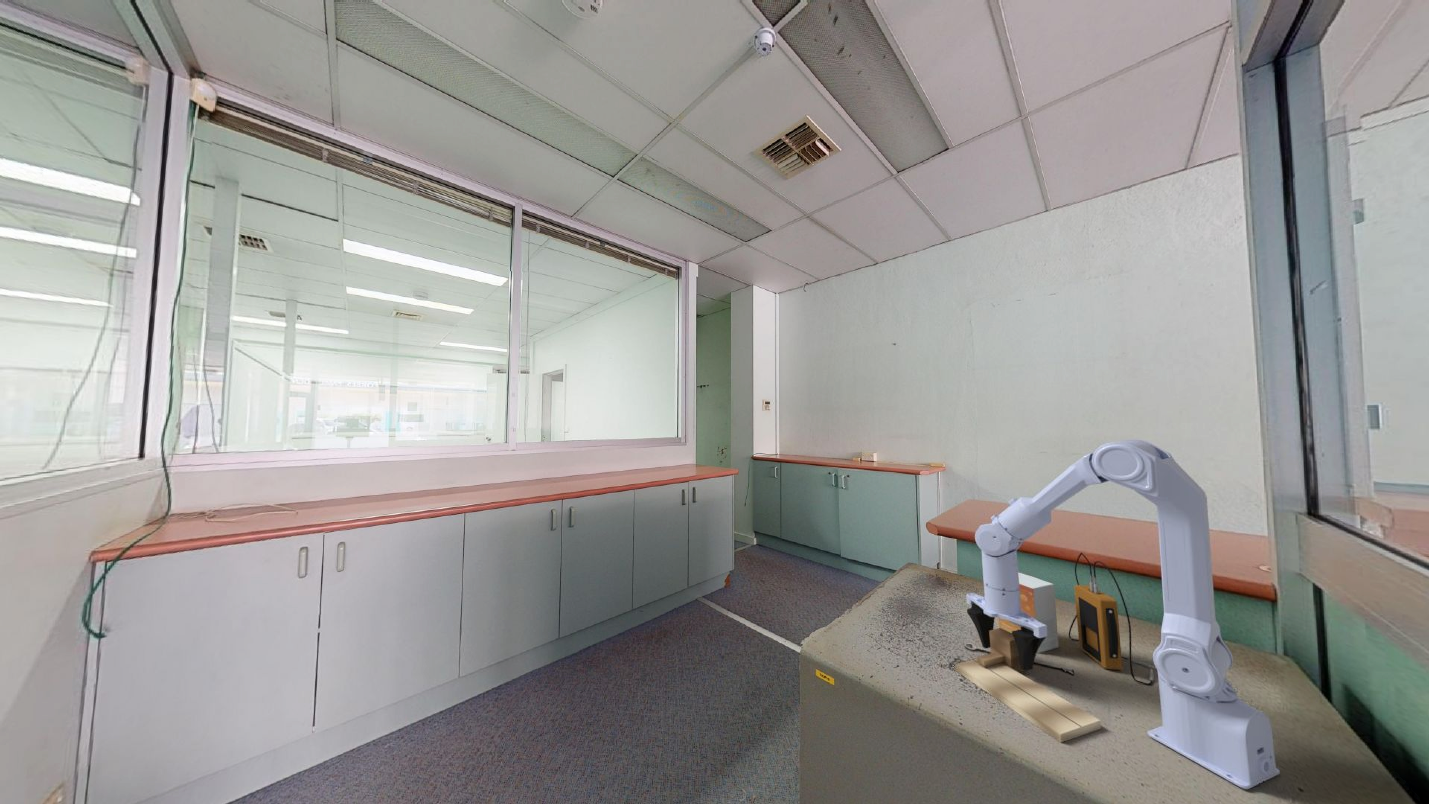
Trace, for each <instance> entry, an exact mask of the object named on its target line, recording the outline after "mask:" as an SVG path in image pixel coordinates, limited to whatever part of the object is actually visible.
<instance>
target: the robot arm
mask: <svg viewBox="0 0 1429 804" xmlns="http://www.w3.org/2000/svg"><path fill="white" fill-rule="evenodd" d="M1107 482H1111V483H1114V484H1117V485H1119V486H1121V487H1124V488H1128V489H1130V490H1133V491H1135V492H1136V493H1137V494H1139V495H1141V497H1144V498H1145V499H1147V500H1148V501H1150V502H1151V503H1152V504H1154V505H1155V506H1156V512H1157V513H1156V514H1157V527H1158V528H1157V529H1158V541H1159V554H1160V557H1159V558H1160V569H1161V570H1160V571H1161V584H1162V585H1161V586H1162V587H1161V588H1162V603H1163V618H1162V623H1161V629H1160V634H1161V635H1160V637H1161V638H1160V640H1161V641H1160V644H1159V645H1158V646H1157V647H1156V648H1155V650H1154V651H1153V654H1152V660H1153V663H1154V664H1153V665H1154V667H1156V668H1157V669H1156V668H1155V669H1156V670H1157V678H1158V687H1159V688H1158V690H1159V699H1160V700H1159V701H1160V710H1161V721H1162V725H1161V726H1158V727H1156V728H1153V729H1151V730H1148V731H1147V736H1149V737H1150V738H1152V739H1154V740H1155V741H1157V742H1160V743H1161V744H1163V745H1164V746H1166V747H1168V748H1170V749H1172V750H1173V751H1175V752H1177V753H1178V754H1180V755H1182V756H1184V757H1185V758H1187V759H1189V760H1191V761H1193V762H1195V763H1197V764H1198V765H1200V766H1202V767H1204V768H1206V769H1207V770H1209V771H1211V772H1212V773H1215V774H1216V775H1218V776H1219V777H1221V778H1223V779H1225V780H1227V781H1228V782H1231V784H1234V785H1236V787H1237V786H1238V787H1239V788H1241V789H1243V790H1249V789H1251V788H1253V787H1255V786H1257V785H1259V783H1260V784H1261V783H1263V781H1264V782H1265V781H1268V780H1270V779H1272V778H1274V777H1275V776H1278V775H1279V774H1280V773H1281V772H1280V769H1279V768H1277V766H1276V756H1275V746H1274V737H1273V730H1272V726H1271V721H1270V720H1269V718H1268V716H1267V715H1266V714H1265V713H1264V712H1262V711H1261V710H1259V709H1256V708H1255V707H1254V706H1251V705H1249V704H1248V703H1246V702H1245V701H1243V700H1242V699H1241V698H1240V697H1238V696H1237V695H1238V694H1237V691H1236V689H1234V687H1233V686H1232V684H1231V682H1230V681H1229V680H1228V678H1226V676H1227V674H1228V672H1229V670H1231V668H1232V666H1233V665H1234V664H1233V663H1234V658H1233V655H1232V651H1231V650H1230V649H1229V647H1228V646H1227V645H1226V643H1225V642H1224V641H1223V638H1222V634H1221V626H1220V625H1219V623H1218V621H1217V620H1216V608H1215V595H1214V593H1215V592H1214V581H1213V568H1212V567H1213V566H1212V565H1213V564H1212V552H1211V549H1212V548H1211V538H1210V526H1209V525H1210V523H1209V511H1208V510H1209V509H1208V498H1207V495H1206V492H1205V491H1204V489H1203V488H1202V487H1201V486H1200V485H1199V484H1198V482H1196V481H1195V480H1194V479H1193V478H1192V476H1190V475H1189V474H1188V473H1187V471H1185V470H1184V469H1183V468H1182V467H1181V466H1180V465H1179V464H1178V463H1177V462H1176V460H1175V459H1174V458H1173V456H1172V454H1171V453H1170V452H1168V451H1166V450H1164V449H1162V448H1160V447H1158V446H1156V445H1154V444H1152V443H1150V442H1148V441H1145V440H1141V439H1135V438H1134V439H1133V438H1132V439H1124V440H1122V441H1113V442H1107V443H1104V444H1102V445H1100V446H1099V447H1097V448H1096V449H1095V451H1094V452H1091V453H1088V454H1086V455H1084V456H1083V457H1081V458H1080V459H1078V460H1076V462H1074V463H1073V464H1071V465H1070V466H1069V467H1068V468H1066V469H1065V470H1064V471H1063V472H1062V473H1060V474H1059V475H1058V476H1057V477H1056V478H1055V479H1054V480H1053V481H1051V482H1050V483H1048V484H1047V486H1045V487H1044V488H1043V489H1042V490H1040V492H1038V493H1037V494H1036V495H1035V496H1033V497H1030V496H1029V497H1027V496H1020V497H1019V498H1017V497H1014V498H1011V500H1009V501H1008V502H1007V503H1008V504H1009V506H1008V507H1007V508H1006V509H1005V510H1003V511H1002V512H1000V514H994V515H992V516H991V517H990V520H991V522H990V523H985V524H981V525H979V526H978V528H977V530H976V531H975V534H974V539H975V543H976V545H977V547H978V548H979V549H980V550H981V563H982V564H981V565H982V578H983V593H984V596H983V595H979V594H977V593H975V592H971V593H966V596H965V597H966V604H967V605H969V606H971V608H967V609H966V613H967V615H968V616H969V617H970V620H971V621H972V622H973V624H974V627H975V629H976V630H977V631H976V632H977V634H978V637H979V639H980V643H981V645H982V647H983V648H984V649H989V648H990V634H989V631H990V630H994V629H995V627H994V626H995V618H998V619H999V618H1001V619H1004V620H1006V621H1008V622H1010V623H1013V624H1015V625H1017V626H1019V627H1021V630H1015V631H1012V634H1013V637H1014V639H1015V641H1016V645H1017V648H1018V654H1019V663H1020V667H1021V669H1022V670H1024V671H1023V672H1027V671H1030V670H1033V668H1034V663H1035V659H1036V655H1037V654H1038V653H1037V651H1038V649H1039V647H1040V645H1041V643H1042V642H1043V641H1044V639H1045V638H1046V637H1047V625H1045V624H1043V623H1041V622H1039V621H1037V620H1036V619H1034V618H1033V617H1031V616H1030V615H1028V614H1027V613H1025V612H1024V611H1022V610H1021V601H1020V588H1019V574H1018V572H1019V565H1018V554H1017V553H1018V552H1017V551H1018V550H1019V548H1020V547H1021V546H1022V543H1024V542H1025V541H1027V540H1028V539H1030V538H1031V537H1032V536H1033V535H1035V534H1036V533H1038V532H1039V531H1041V530H1042V529H1043V528H1045V527H1046V526H1048V525H1049V524H1051V522H1052V511H1053V510H1055V509H1056V508H1057V507H1059V506H1061V505H1062V504H1064V503H1065V502H1067V501H1068V500H1069V499H1071V498H1073V497H1074V496H1076V495H1077V494H1078V493H1079V492H1082V491H1083V490H1084V489H1086V488H1087V487H1089V486H1091V485H1093V486H1094V485H1100V484H1104V483H1107ZM990 649H991V648H990Z"/></svg>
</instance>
